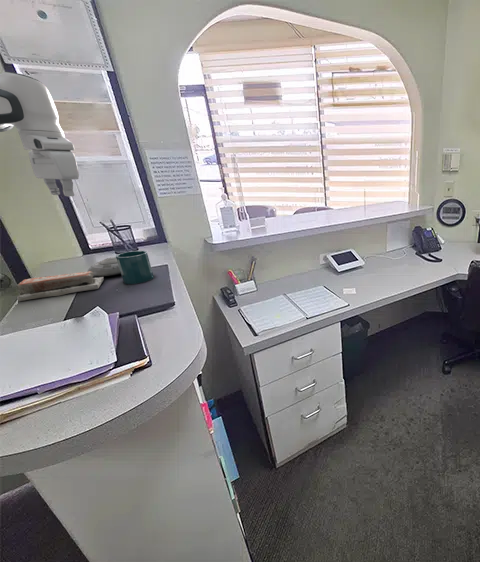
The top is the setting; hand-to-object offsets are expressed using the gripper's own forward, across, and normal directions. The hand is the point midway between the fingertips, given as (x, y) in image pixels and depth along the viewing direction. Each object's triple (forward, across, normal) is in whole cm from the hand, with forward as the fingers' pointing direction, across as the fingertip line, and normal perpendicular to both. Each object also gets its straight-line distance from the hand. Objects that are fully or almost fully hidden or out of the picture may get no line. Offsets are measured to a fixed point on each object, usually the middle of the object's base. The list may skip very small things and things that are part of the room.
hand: (62, 195), depth 90 cm
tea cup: (+28, +8, +10) cm, 31 cm away
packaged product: (+28, -2, -6) cm, 29 cm away
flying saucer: (+28, -8, +10) cm, 31 cm away
